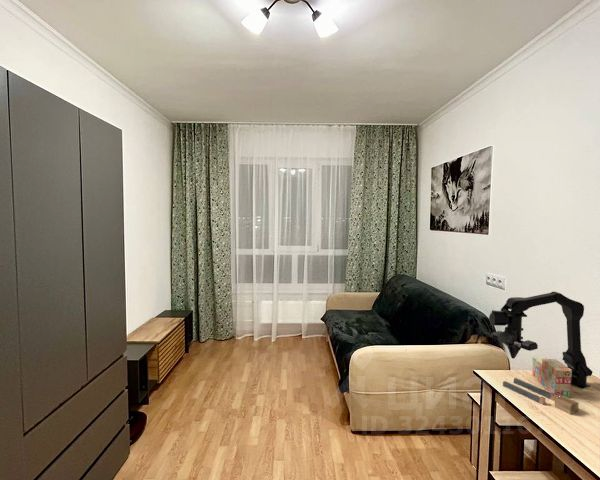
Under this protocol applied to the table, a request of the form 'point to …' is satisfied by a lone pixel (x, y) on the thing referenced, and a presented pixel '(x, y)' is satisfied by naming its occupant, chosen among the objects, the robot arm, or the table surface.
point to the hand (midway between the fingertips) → (513, 358)
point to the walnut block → (566, 405)
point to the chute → (532, 388)
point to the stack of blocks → (553, 375)
